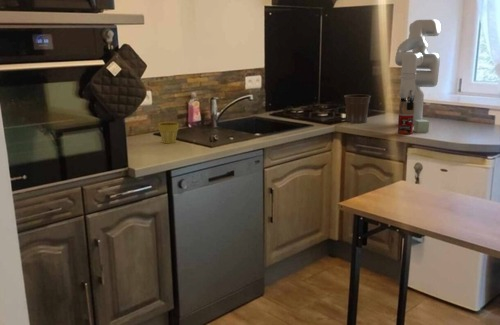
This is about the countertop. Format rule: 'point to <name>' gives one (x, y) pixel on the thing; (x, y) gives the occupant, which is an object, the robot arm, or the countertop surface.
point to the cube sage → (421, 125)
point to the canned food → (405, 124)
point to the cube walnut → (405, 108)
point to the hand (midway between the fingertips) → (406, 108)
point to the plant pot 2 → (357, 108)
